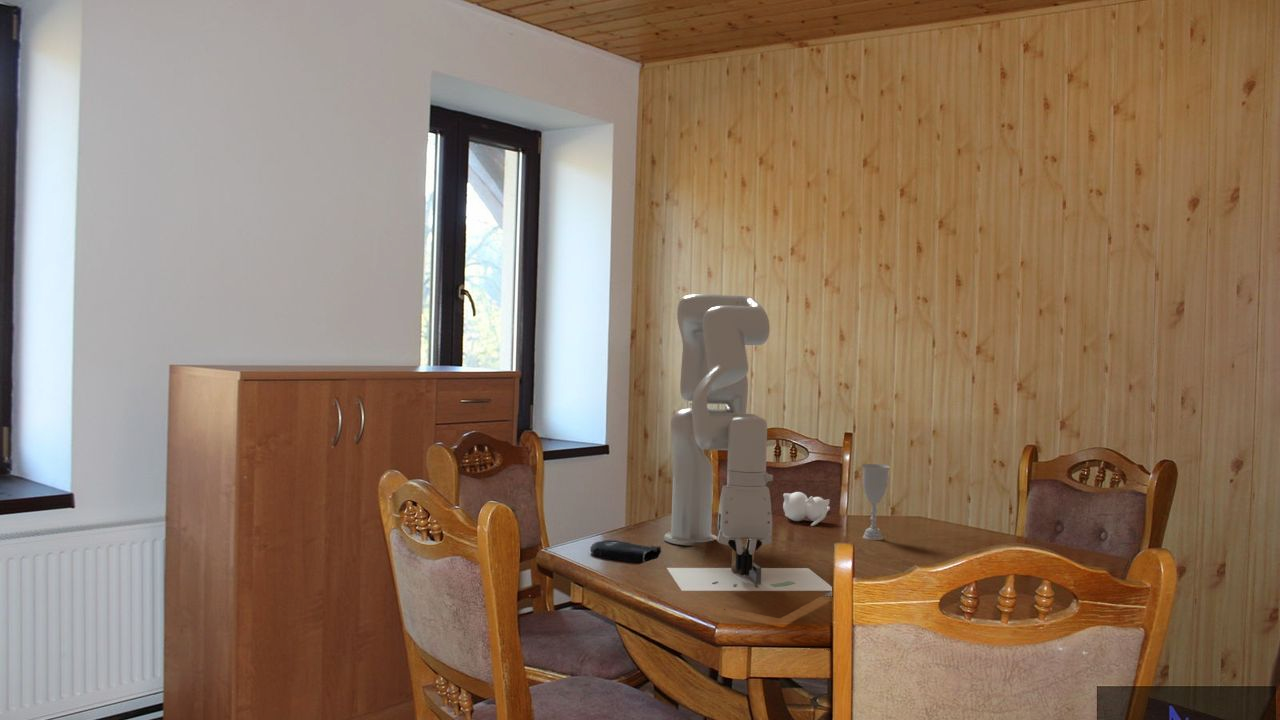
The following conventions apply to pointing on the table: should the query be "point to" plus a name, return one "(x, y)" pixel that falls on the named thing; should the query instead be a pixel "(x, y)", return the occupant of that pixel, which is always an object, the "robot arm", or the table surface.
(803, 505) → the cat figurine
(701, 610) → the table surface
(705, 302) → the robot arm
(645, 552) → the electronic device
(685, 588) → the dial board
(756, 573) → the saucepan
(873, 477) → the chalice
